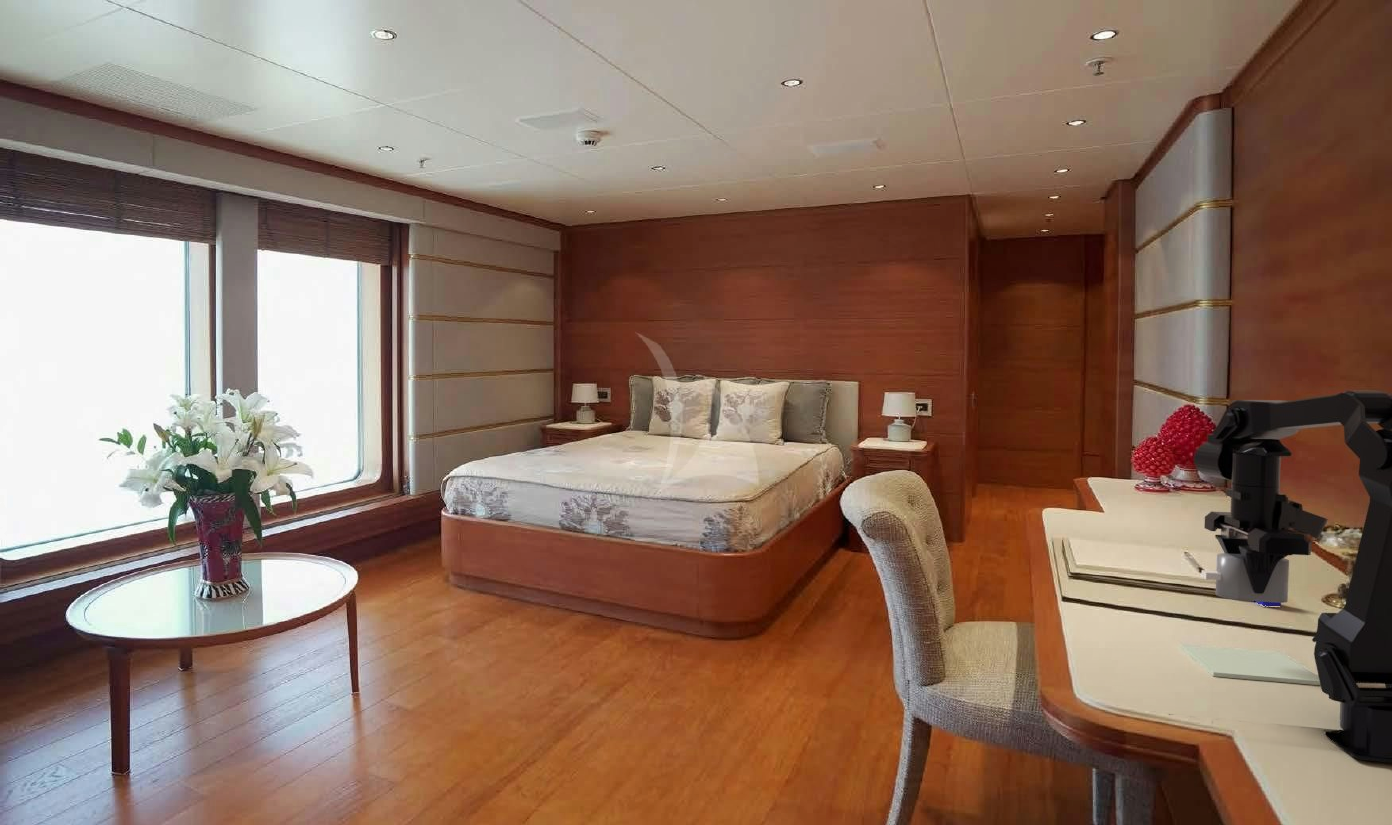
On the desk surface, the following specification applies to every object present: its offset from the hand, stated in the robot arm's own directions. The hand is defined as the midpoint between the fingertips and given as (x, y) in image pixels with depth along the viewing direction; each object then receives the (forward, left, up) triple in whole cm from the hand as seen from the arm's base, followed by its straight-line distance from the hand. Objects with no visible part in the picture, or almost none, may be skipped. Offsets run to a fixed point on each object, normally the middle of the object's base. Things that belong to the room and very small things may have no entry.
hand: (1251, 589), depth 112 cm
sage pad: (0, 0, -12) cm, 12 cm away
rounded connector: (0, 0, -1) cm, 1 cm away
